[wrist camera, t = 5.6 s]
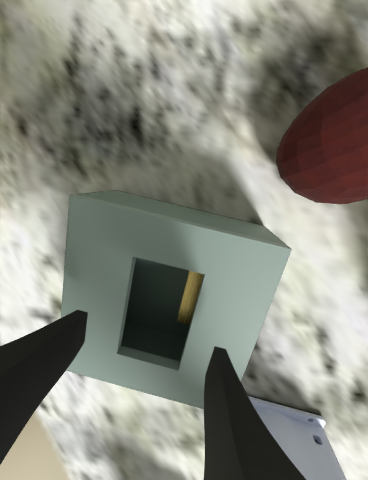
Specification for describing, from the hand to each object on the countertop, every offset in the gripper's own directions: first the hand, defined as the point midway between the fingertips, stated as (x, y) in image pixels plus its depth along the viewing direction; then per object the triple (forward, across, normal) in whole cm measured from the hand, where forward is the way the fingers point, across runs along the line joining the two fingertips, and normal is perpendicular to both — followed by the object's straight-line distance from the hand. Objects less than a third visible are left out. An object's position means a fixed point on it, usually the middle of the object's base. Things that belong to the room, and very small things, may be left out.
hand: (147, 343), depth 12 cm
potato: (+9, -9, -13) cm, 18 cm away
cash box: (+9, 0, 0) cm, 9 cm away
